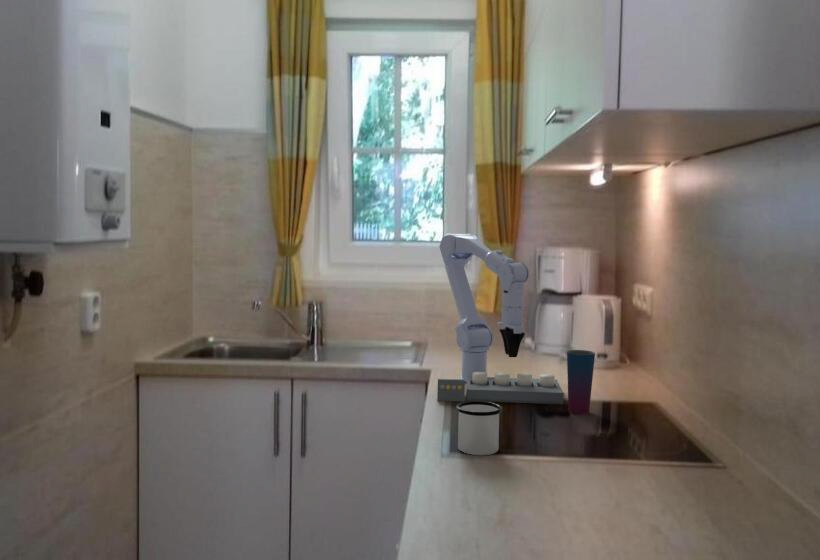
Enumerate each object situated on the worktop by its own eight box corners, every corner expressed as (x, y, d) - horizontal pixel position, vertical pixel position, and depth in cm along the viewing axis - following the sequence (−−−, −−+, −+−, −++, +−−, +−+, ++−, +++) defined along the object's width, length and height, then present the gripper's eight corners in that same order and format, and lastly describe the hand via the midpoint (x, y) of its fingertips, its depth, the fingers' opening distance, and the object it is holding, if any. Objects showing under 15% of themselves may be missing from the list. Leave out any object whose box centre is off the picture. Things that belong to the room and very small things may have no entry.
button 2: (494, 384, 206) (494, 372, 206) (508, 385, 206) (509, 372, 205) (494, 387, 202) (494, 375, 202) (509, 388, 202) (509, 375, 201)
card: (437, 399, 197) (437, 378, 197) (464, 400, 196) (464, 379, 196) (437, 400, 196) (437, 379, 195) (464, 401, 195) (464, 380, 195)
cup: (581, 416, 182) (583, 355, 181) (559, 410, 188) (561, 351, 186) (598, 412, 187) (600, 352, 185) (576, 406, 192) (578, 348, 191)
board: (466, 386, 212) (467, 376, 212) (556, 390, 210) (556, 379, 210) (466, 400, 196) (466, 389, 196) (563, 404, 194) (563, 392, 194)
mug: (499, 458, 150) (500, 414, 149) (451, 454, 151) (453, 410, 151) (503, 441, 161) (505, 399, 161) (460, 437, 163) (461, 396, 162)
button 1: (472, 383, 206) (472, 371, 206) (486, 384, 206) (487, 372, 206) (472, 387, 203) (472, 374, 202) (487, 387, 202) (487, 375, 202)
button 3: (516, 385, 206) (516, 373, 205) (531, 385, 205) (531, 373, 205) (517, 388, 202) (517, 376, 201) (532, 389, 201) (532, 376, 201)
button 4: (538, 386, 205) (538, 373, 205) (553, 386, 205) (553, 374, 204) (539, 389, 201) (540, 376, 201) (554, 390, 201) (555, 377, 200)
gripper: (493, 303, 213) (491, 350, 214) (503, 309, 199) (502, 360, 200) (517, 303, 214) (516, 350, 215) (529, 310, 199) (528, 360, 201)
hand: (511, 355), depth 207 cm, fingers open, 3 cm apart
